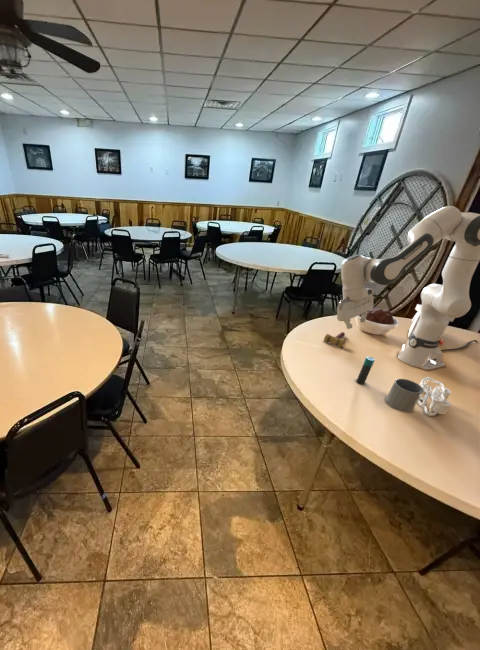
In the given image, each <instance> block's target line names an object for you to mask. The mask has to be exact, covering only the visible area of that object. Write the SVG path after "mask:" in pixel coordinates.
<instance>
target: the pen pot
mask: <svg viewBox="0 0 480 650" xmlns="http://www.w3.org/2000/svg"><path fill="white" fill-rule="evenodd" d="M423 393H424V392H423V388H422V387H421V386H420V384H419V383H417V382H415V381H413V380H409V379H405V378H397V379H395V380H394V382H393V384H392V386H391V388H390V390H389V392H388V393H387V395H386V398H385V402H386V403H387V405H388V406H390V408H393V409H394V410H397V411H400V412H404V413H409V412H412V411H413V410H414V408H415V407H416V405H417V404H418V400H420V399H419V398H420V397H422V395H423Z"/></svg>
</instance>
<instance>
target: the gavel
mask: <svg viewBox="0 0 480 650" xmlns="http://www.w3.org/2000/svg"><path fill="white" fill-rule="evenodd" d="M345 335H346V333H345V332H344V331H342V332H340V333H339V334H337V335H335V336H333V335H331V334H329V333H326V334H325V335H324V338H323V342H325V343H329V344H332V345H335V346H337V347H338V348H343V347H344V345H345V342H346V339H344V338H343V337H344V336H345Z"/></svg>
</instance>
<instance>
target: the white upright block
mask: <svg viewBox="0 0 480 650" xmlns="http://www.w3.org/2000/svg"><path fill="white" fill-rule="evenodd" d="M421 308H422V304H419V303H417V304H416V306H415V308H414V310H415V311H417V312H416V313H415V314H414V316H413V317H412V319H411V321H410V324H411V326H410V327H409V330H408V336H407V338H408V339H409V338H410V335H411V334H412V333H413V332H414V330H415V328H416V326H417V324H418V321H419V319H420V315H421ZM455 319H456V318H452V317H448V316H445V315H444V320H445V328H444V330H443V332H442V334H441V336H440V338H439V339H438V340H441V338H442V336H443V335H444V333H445V331H446V329H447V327H448V326H449V323H450V322H451V323H453V322H454V320H455Z"/></svg>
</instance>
